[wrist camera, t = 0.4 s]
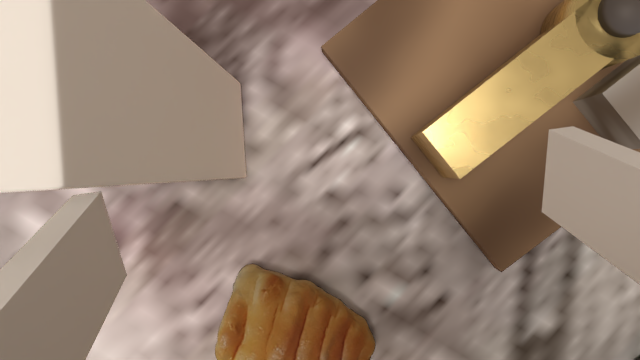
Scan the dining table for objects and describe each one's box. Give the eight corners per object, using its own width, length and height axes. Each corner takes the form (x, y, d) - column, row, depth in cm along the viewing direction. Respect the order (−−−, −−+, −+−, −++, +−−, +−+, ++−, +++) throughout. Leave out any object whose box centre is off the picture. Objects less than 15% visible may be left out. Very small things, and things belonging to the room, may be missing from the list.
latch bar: (586, -18, 26) (630, -52, 22) (635, 42, 26) (688, 19, 22) (403, 128, 27) (413, 120, 23) (450, 187, 27) (469, 189, 23)
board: (817, 21, 27) (961, -24, 20) (494, 267, 28) (537, 295, 22) (633, -203, 27) (720, -315, 21) (322, 51, 28) (316, 18, 22)
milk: (241, 82, 28) (-90, -228, 6) (247, 179, 29) (-61, 197, 7) (145, 89, 29) (-486, -188, 7) (152, 185, 29) (-453, 221, 7)
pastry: (384, 296, 29) (390, 316, 25) (356, 397, 29) (358, 432, 25) (241, 256, 29) (226, 269, 25) (215, 356, 29) (195, 385, 25)
